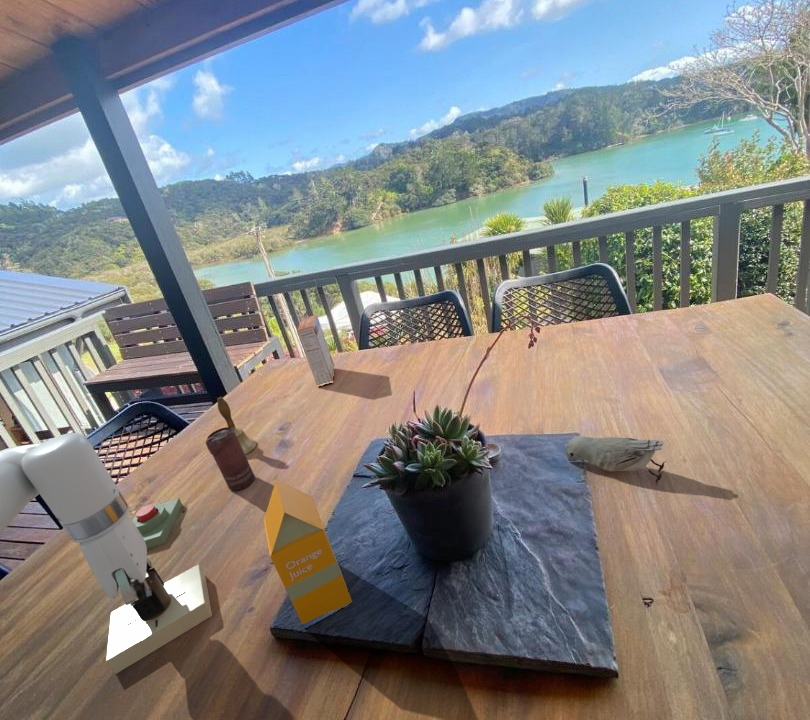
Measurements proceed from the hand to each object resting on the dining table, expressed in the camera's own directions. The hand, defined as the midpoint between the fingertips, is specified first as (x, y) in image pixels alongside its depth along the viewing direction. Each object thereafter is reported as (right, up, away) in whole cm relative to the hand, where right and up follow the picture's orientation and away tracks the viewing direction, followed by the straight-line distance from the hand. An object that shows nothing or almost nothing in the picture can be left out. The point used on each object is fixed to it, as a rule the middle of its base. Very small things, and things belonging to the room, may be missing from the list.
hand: (154, 601), depth 69 cm
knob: (0, -1, 0) cm, 1 cm away
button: (-15, +5, +23) cm, 28 cm away
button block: (-14, +2, +25) cm, 28 cm away
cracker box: (+13, +32, +81) cm, 88 cm away
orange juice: (+27, +2, -1) cm, 27 cm away
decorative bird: (+77, +19, +8) cm, 80 cm away
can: (+2, +9, +33) cm, 34 cm away
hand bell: (-4, +14, +49) cm, 51 cm away
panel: (+1, -4, +2) cm, 4 cm away
